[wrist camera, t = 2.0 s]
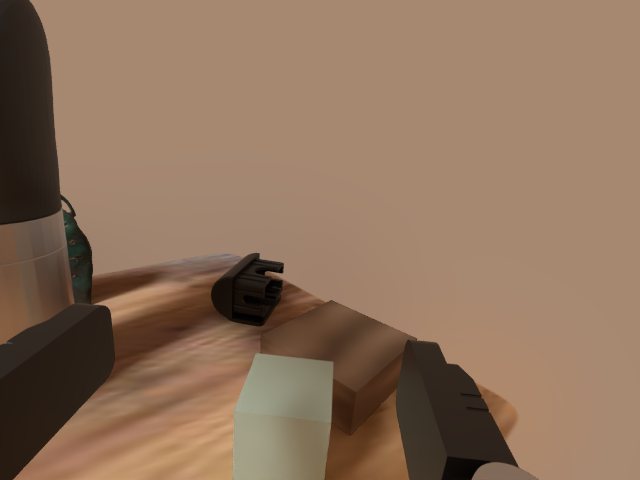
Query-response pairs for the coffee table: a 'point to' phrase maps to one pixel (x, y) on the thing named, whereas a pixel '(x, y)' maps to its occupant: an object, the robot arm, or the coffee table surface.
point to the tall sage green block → (283, 419)
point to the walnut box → (345, 357)
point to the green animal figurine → (78, 257)
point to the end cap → (248, 291)
